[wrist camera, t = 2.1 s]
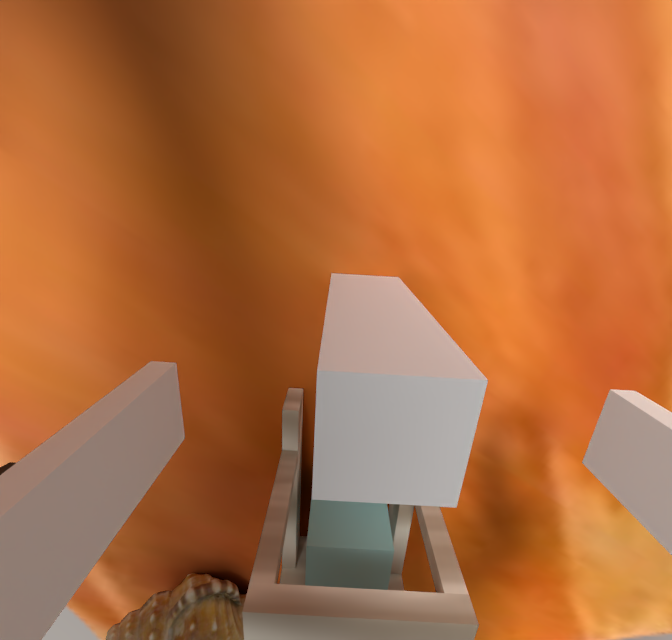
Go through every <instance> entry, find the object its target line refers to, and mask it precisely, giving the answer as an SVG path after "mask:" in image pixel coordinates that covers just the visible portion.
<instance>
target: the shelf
mask: <svg viewBox="0 0 672 640" xmlns="http://www.w3.org/2000/svg"><path fill="white" fill-rule="evenodd" d="M302 423H303V389H301V388H288V392H287V395H286V399H285V402H284V405H283V409H282V453H281V457H280V461H279V465H278V469H277V473H276V477H275V481H274V485H273V489H272V493H271V497H270V501H269V505H268V509H267V514H266V518H265V522H264V526H263V530H262V534H261V538H260V542H259V546H258V550H257V554H256V558H255V562H254V566H253V570H252V574H251V579H250V583H249V587H248V591H247V595H246V599H245V603H244V607H243V611H242V615H243V631H244V640H474V638H475V635H476V632H477V629H478V626H479V624H478V621H477V618H476V615H475V612H474V609H473V606H472V603H471V600H470V597H469V594H468V591H467V588H466V585H465V582H464V579H463V576H462V573H461V570H460V567H459V564H458V561H457V558H456V555H455V552H454V549H453V546H452V543H451V540H450V537H449V534H448V531H447V528H446V525H445V522H444V519H443V516H442V513H441V510H440V507H437V506H419V505H415V509H416V513H417V517H418V521H419V525H420V529H421V533H422V537H423V541H424V545H425V549H426V553H427V557H428V561H429V565H430V569H431V573H432V577H433V581H434V585H435V589H436V593H433V592H415V591H404V586H403V580H402V569H403V564H404V558H405V553H406V548H407V542H408V537H409V532H410V526H411V521H412V516H413V510H414V505H401V504H389V511H388V514H389V520H390V526H391V533H392V539H393V546H394V556H393V562H392V568H391V573H390V579H389V585H388V590H379V589H361V588H343V587H324V586H306V585H305V572H306V546H307V536H300V500H301V462H302ZM281 557H282V572H281V578H280V584H277V580H278V574H279V569H280V563H281Z"/></svg>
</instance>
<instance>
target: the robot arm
mask: <svg viewBox="0 0 672 640" xmlns="http://www.w3.org/2000/svg"><path fill="white" fill-rule="evenodd" d="M184 439H185V434H184V425H183V417H182V408H181V399H180V391H179V382H178V373H177V365H176V363H173V362H157V361H151V362H149V363H148V364H147V365H145V366H144V367H143V368H141V369H140V370H139V371H137V372H136V373H135V374H133V375H132V376H131V377H129V378H128V379H127V380H125V381H124V382H123V383H122V384H120V385H119V386H118V387H116V388H115V389H114V390H112V391H111V392H110V393H108V394H107V395H106V396H104V397H103V398H102V399H100V400H99V401H98V402H96V403H95V404H94V405H92V406H91V407H90V408H88V409H87V410H86V411H84V412H83V413H82V414H81V415H79V416H78V417H77V418H75V419H74V420H73V421H71V422H70V423H69V424H67V425H66V426H65V427H63V428H62V429H61V430H59V431H58V432H57V433H55V434H54V435H53V436H51V437H50V438H49V439H47V440H46V441H45V442H43V443H42V444H41V445H40V446H38V447H37V448H36V449H34V450H33V451H32V452H30V453H29V454H28V455H26V456H25V457H24V458H22V459H21V460H20V461H18V462H17V463H11V462H10V463H8V464H6V465H4V466H2V467H0V640H42V638H43V637H44V636H45V634H46V633H47V631H48V630H49V629H50V627H51V626H52V624H53V623H54V621H55V620H56V619H57V617H58V616H59V614H60V613H61V612H62V610H63V609H64V607H65V606H66V605H67V603H68V602H69V600H70V599H71V598H72V596H73V595H74V593H75V592H76V591H77V589H78V588H79V586H80V585H81V584H82V582H83V581H84V579H85V578H86V577H87V575H88V574H89V572H90V571H91V569H92V568H93V567H94V565H95V564H96V562H97V561H98V560H99V558H100V557H101V555H102V554H103V553H104V551H105V550H106V548H107V547H108V546H109V544H110V543H111V541H112V540H113V539H114V537H115V536H116V534H117V533H118V532H119V530H120V529H121V527H122V526H123V525H124V523H125V522H126V520H127V519H128V517H129V516H130V515H131V513H132V512H133V510H134V509H135V508H136V506H137V505H138V503H139V502H140V501H141V499H142V498H143V496H144V495H145V494H146V492H147V491H148V489H149V488H150V487H151V485H152V484H153V482H154V481H155V480H156V478H157V477H158V475H159V474H160V473H161V471H162V470H163V468H164V467H165V465H166V464H167V463H168V461H169V460H170V458H171V457H172V456H173V454H174V453H175V451H176V450H177V449H178V447H179V446H180V444H181V443H182V442H183V440H184ZM582 463H583V464H584V465H585V466H586V467H587V468H588V469H589V470H590V471H591V472H592V473H593V475H594V476H595V477H596V478H597V479H598V480H599V481H600V482H601V483H602V484H603V485H604V486H605V487H606V488H607V489H608V490H609V491H610V492H611V493H612V494H613V495H614V496H615V497H616V498H617V499H618V500H619V501H620V502H621V503H622V504H623V506H624V507H625V508H626V509H627V510H628V511H629V512H630V513H631V514H632V515H633V516H634V517H635V518H636V519H637V520H638V521H639V522H640V523H641V524H642V525H643V526H644V527H645V528H646V529H647V530H648V531H649V532H650V533H651V534H652V535H653V536H654V538H655V539H656V540H657V541H658V542H659V543H660V544H661V545H662V546H663V547H664V548H665V549H666V550H667V551H668V552H669V553H670V554H671V555H672V413H671V412H670V411H668V410H666V409H665V408H663V407H661V406H660V405H658V404H656V403H655V402H653V401H651V400H650V399H648V398H646V397H645V396H643V395H641V394H640V393H638V392H636V391H628V390H611V389H610V391H609V394H608V396H607V399H606V401H605V404H604V407H603V409H602V412H601V415H600V417H599V420H598V422H597V425H596V428H595V430H594V433H593V436H592V438H591V441H590V443H589V446H588V449H587V451H586V454H585V456H584V459H583V462H582Z"/></svg>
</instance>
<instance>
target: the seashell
mask: <svg viewBox="0 0 672 640" xmlns="http://www.w3.org/2000/svg"><path fill="white" fill-rule="evenodd" d="M246 595H247V594H245V595H239V591H238V587H237V585H235V584H234V583H232V582H230V581H229V580H224V581H222V580H219V579H218V578H213V577H211V576H210V575H209V574H203V575H199V574H196V573H191V574H188V575H187V577H186V578H185V579H184V580H183V581H182V583H181V584H180V585H179V586H177V587H176V588H174V589H173V590H172V591H170V590H167V591H163V592H158V593H156V594H154V595H152V596H151V597H150V598H149V599H148V601H147V602H146V603H145V604H144V605H143V606H142V607H141V608H140V609H138V610H135V611H132V612H130V613H128V614H127V615H126V616H125V617H124V619H123V620H122V621H121V623H118V624H115V625H114V626H112V627H111V628H110V630H109V631H108V632H107V636H106V640H244V631H243V615H242V611H243V607H244V603H245V599H246Z"/></svg>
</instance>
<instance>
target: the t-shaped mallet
mask: <svg viewBox="0 0 672 640" xmlns="http://www.w3.org/2000/svg"><path fill="white" fill-rule="evenodd" d="M487 382H488V380H487V379H486V377H485V376H484V375H483V374H482V373H481V372H480V370H479V369H478V368H477V367H476V366H475V365H474V364H473V362H472V361H471V360H470V359H469V358H468V357H467V355H466V354H465V353H464V352H463V351H462V350H461V349H460V347H459V346H458V345H457V344H456V343H455V342H454V340H453V339H452V338H451V337H450V336H449V335H448V334H447V332H446V331H445V330H444V329H443V328H442V327H441V325H440V324H439V323H438V322H437V321H436V320H435V319H434V317H433V316H432V315H431V314H430V313H429V312H428V310H427V309H426V308H425V307H424V306H423V305H422V304H421V302H420V301H419V300H418V299H417V298H416V297H415V295H414V294H413V293H412V292H411V291H410V290H409V289H408V287H407V286H406V285H405V284H404V283H403V282H402V280H401V279H400V278H399V277H388V276H371V275H354V274H337V273H332V274H331V281H330V287H329V294H328V301H327V307H326V314H325V321H324V328H323V334H322V341H321V348H320V354H319V361H318V368H317V385H316V409H315V433H314V457H313V481H312V497H311V507H310V516H309V526H308V536H307V546H306V572H305V585H306V586H324V587H343V588H361V589H379V590H388V585H389V579H390V573H391V568H392V562H393V556H394V546H393V539H392V533H391V526H390V520H389V514H388V507H387V504H401V505H419V506H437V507H455V508H456V507H457V503H458V499H459V495H460V491H461V487H462V483H463V479H464V475H465V471H466V467H467V463H468V459H469V455H470V451H471V447H472V443H473V439H474V435H475V431H476V427H477V423H478V419H479V415H480V411H481V407H482V403H483V399H484V394H485V390H486V386H487Z"/></svg>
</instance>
